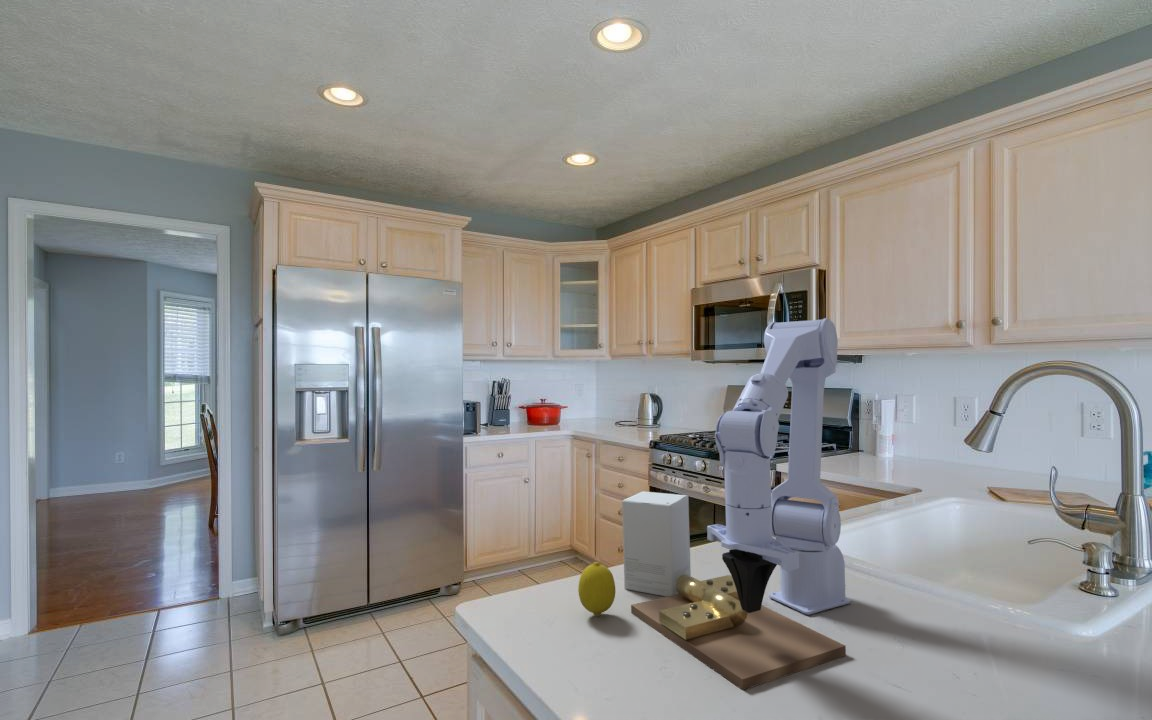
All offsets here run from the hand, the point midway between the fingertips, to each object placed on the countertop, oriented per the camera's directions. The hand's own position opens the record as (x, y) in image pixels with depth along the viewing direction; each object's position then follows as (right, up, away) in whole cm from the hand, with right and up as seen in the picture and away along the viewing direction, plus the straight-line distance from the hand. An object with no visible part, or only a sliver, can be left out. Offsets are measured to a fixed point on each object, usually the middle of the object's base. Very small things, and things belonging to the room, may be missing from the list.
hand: (751, 609), depth 74 cm
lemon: (-19, -6, +12) cm, 24 cm away
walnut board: (-1, -6, +6) cm, 8 cm away
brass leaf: (-5, -4, +6) cm, 9 cm away
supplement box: (-9, -6, +24) cm, 26 cm away
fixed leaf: (-1, -4, +15) cm, 16 cm away
